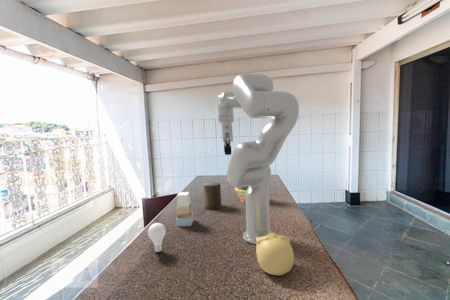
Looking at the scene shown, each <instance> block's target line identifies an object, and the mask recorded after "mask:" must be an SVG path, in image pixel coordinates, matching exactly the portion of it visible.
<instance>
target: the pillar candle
mask: <svg viewBox="0 0 450 300" xmlns="http://www.w3.org/2000/svg"><path fill="white" fill-rule="evenodd" d="M221 191H222V189H221V182H219V181H210V182H205V183H203V193H204V194H203V197H204V209H207V210H218V209H220V208H222V192H221Z"/></svg>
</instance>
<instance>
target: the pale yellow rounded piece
mask: <svg viewBox="0 0 450 300" xmlns="http://www.w3.org/2000/svg"><path fill="white" fill-rule="evenodd" d="M256 242H257V244H255V246H256V248H255V253H256V259H257V262H258V265H259V267H260V268H261V270H263V271H264V272H265V273H267V274H269V275H273V276H283V275H286V274H287V273H289V272H290V271H291V269H292V268H293V266H294V263H295V254H294V249H293V247H292V244H291V237H289V236H286V235H281V234H279V233H278V234H277V233H275V232H273V233H270V234H268V235H267V236H263V237H259V238H257V239H256Z"/></svg>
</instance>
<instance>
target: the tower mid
mask: <svg viewBox="0 0 450 300" xmlns="http://www.w3.org/2000/svg"><path fill="white" fill-rule="evenodd" d="M192 211H193V210H192V203H191V202H190V205H189V207H186V208H178V206H176V218H177V219H178V218H190V216H191V214H192V213H193V212H192Z"/></svg>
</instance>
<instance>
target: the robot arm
mask: <svg viewBox="0 0 450 300" xmlns="http://www.w3.org/2000/svg"><path fill="white" fill-rule="evenodd" d="M234 108H235V109H236V108H237V109H242V110H243V112H245V114H246V115H247V116H248V117H250V118H252V119H268V118H269V119H271V118H273V119H271V120H270V121H269V122H268V123H266V125H265V126H264V127H263V128H262V130H261V131H260V135H259V137H258V138H257V139H256V140H252V141H251V140H250V141H243V142H240V143H238V144H236V146H235V147H234V149H233V151H232V145H231V143H233V142H234V133H233V131H234V130H233V123H234V121H235V119H234ZM299 110H300V107H299V102H298V99H297V97H296V96H295V95H294V94H292V93H290V92H286V91H275V90H274V81H273V80H272V78H271V77H270V76H269V75H265V74H262V73H240V74H238V75H237V76H236V77H235V78H234V80H233V82H232V91H230V90H229V91H227V90H226V91H223V92H222V93H221V94H219V95H218V96H217V111H218V112H217V114H218V115H217V117H218V123H219V124H220V126H221V135H222V136H221V137H222V138H221V139H222V142H223V144H224V145H223V149H224V150H223V151H224V155H225V156H229V155H231V158H230V161H229V164H228V167H227V170H226V171H227V172H226V179H227V182H228V185H230V186H231V187H233V188H234V189H235V188H239V187H246V186H249V187H248V189H247V191H246V195H245V203H244V204H245V226H246V230H245V231H244V232H243V233H242V238H243V240H244V241H245V242H247V243H250V244H253V245H256V244H257V242H256V239H257V238H259V237H263V236H267V235H268V234H270V233H274V232H273V231H272V230H271V219H270V182H271V177H272V169H271V165H272V164H273V163H274V162H275V160H276V159H277V157H278V155H279V153H280V152H281V149H282V147H283V145H284V143H285V141H286V139H287V137H289V134H291V132H292V131H293V128H294V127H295V125H296V123H297V122H298V119H299V114H300V113H299V112H300V111H299Z"/></svg>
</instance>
